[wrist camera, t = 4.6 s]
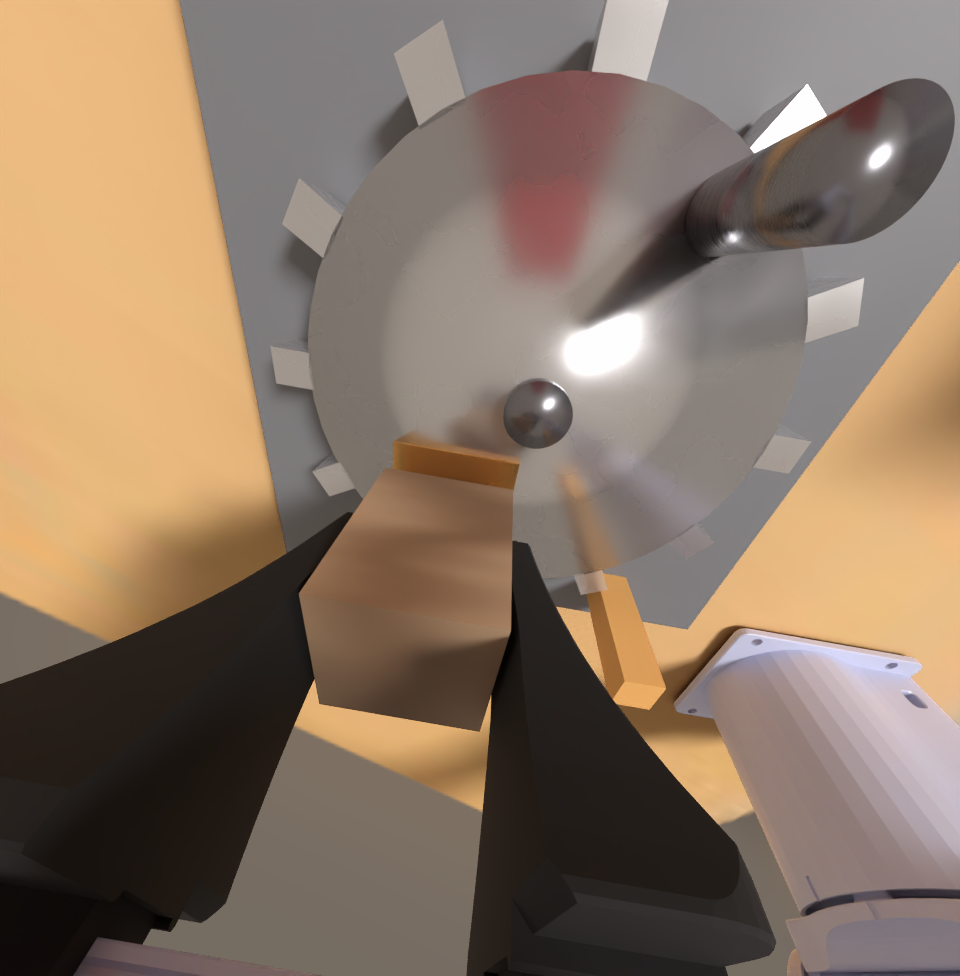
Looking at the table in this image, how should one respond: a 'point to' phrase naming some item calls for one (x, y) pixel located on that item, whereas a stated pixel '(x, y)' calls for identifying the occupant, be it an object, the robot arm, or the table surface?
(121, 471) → the table surface
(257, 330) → the base plate
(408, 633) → the link block
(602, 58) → the sprocket
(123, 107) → the table surface
